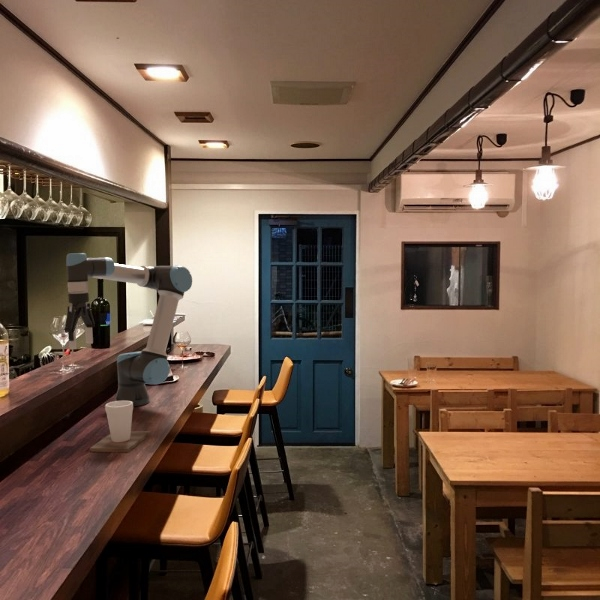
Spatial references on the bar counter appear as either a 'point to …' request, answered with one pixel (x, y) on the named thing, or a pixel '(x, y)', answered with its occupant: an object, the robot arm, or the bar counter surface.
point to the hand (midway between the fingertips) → (81, 346)
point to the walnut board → (120, 443)
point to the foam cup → (119, 419)
